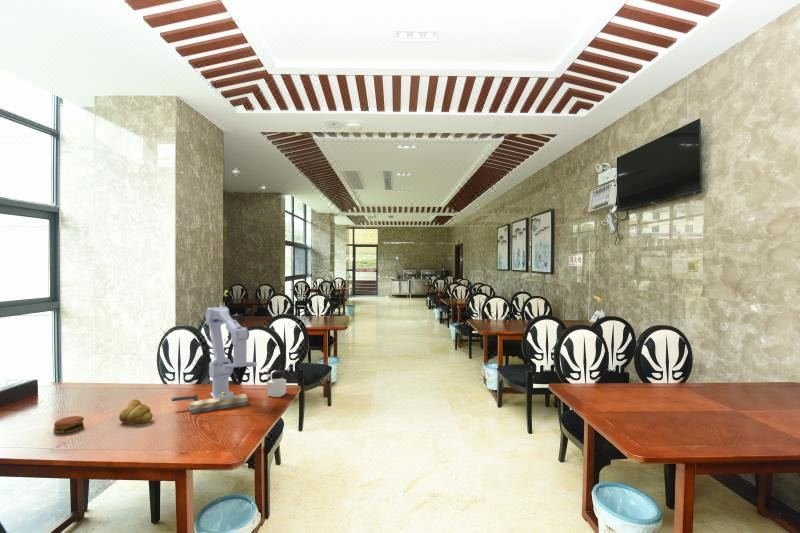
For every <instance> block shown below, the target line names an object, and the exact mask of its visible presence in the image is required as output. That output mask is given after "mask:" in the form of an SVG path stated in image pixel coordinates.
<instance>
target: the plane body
mask: <svg viewBox="0 0 800 533" xmlns="http://www.w3.org/2000/svg"><path fill="white" fill-rule="evenodd" d="M248 399H249V398H248V396H247V394H246V393H239V394H234V399H227V400H221V401H220V400H219V399H218V398H213V397H212V398H205V399H198V400H197V401H194V400H191V401H188V411H189V414H196V413H204V412H211V411H216V410H223V409H229V408H235V407H240V406H247V404H248V405H249V403H248V401H249V400H248Z"/></svg>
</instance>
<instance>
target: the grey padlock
mask: <svg viewBox="0 0 800 533" xmlns="http://www.w3.org/2000/svg"><path fill="white" fill-rule="evenodd" d="M266 386H267V387H266V389H267V390H266V391H267V392H266V396H267V397H268V396H271V397H270V398H282V397H283V396H284V395H285V394H286V393H287V379H286V378H285V379H284V371H283V370H280V369H278V370H272V371H271V372H270V380H269V381H268V382H267V385H266ZM281 396H282V397H281Z"/></svg>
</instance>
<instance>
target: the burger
mask: <svg viewBox="0 0 800 533" xmlns="http://www.w3.org/2000/svg"><path fill="white" fill-rule="evenodd" d="M84 419H85V417H83V416H79V415H75V416H74V415H73V416H67V417H63V418H61V419H57V420H56V421H55V422H54V428H53V432H55V433H54V434H64V433H63V432H68V433H72V432H71V431H73V432H75V431H79V429H80V430H81V429H83V428H84V427H85V423H84V421H85V420H84ZM82 427H83V428H82Z"/></svg>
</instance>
